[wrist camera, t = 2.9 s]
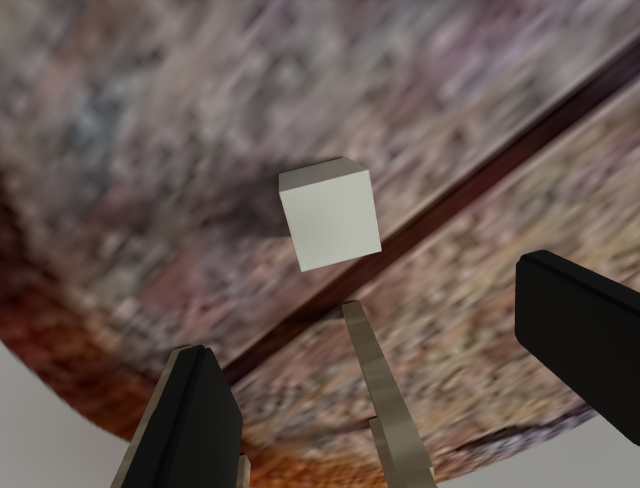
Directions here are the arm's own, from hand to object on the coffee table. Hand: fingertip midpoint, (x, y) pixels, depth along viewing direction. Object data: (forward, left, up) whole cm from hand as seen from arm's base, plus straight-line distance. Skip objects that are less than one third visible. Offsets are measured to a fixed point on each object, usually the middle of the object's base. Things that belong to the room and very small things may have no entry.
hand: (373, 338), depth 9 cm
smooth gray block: (0, 0, -15) cm, 15 cm away
